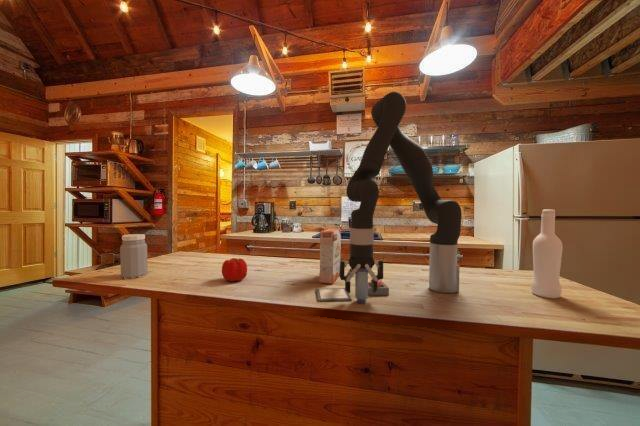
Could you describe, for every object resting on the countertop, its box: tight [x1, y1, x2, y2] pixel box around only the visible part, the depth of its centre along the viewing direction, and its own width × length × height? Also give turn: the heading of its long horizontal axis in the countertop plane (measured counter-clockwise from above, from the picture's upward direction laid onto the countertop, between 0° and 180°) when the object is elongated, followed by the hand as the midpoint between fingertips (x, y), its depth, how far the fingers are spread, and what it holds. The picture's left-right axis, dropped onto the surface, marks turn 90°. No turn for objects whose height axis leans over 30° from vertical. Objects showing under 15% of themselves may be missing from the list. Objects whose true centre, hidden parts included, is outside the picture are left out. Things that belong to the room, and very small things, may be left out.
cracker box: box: [319, 228, 342, 285], centre depth 109 cm, size 14×6×21 cm, turn 163°
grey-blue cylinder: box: [354, 268, 369, 305], centre depth 84 cm, size 4×4×11 cm
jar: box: [119, 233, 149, 279], centre depth 113 cm, size 10×10×18 cm
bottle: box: [530, 208, 564, 299], centre depth 90 cm, size 8×8×30 cm
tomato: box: [221, 257, 248, 283], centre depth 107 cm, size 11×11×9 cm
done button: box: [370, 278, 383, 287], centre depth 93 cm, size 4×4×2 cm
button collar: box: [368, 281, 390, 297], centre depth 94 cm, size 7×7×2 cm
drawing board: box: [315, 287, 353, 303], centre depth 90 cm, size 11×11×1 cm
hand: (360, 292), depth 84 cm, fingers open, 7 cm apart
